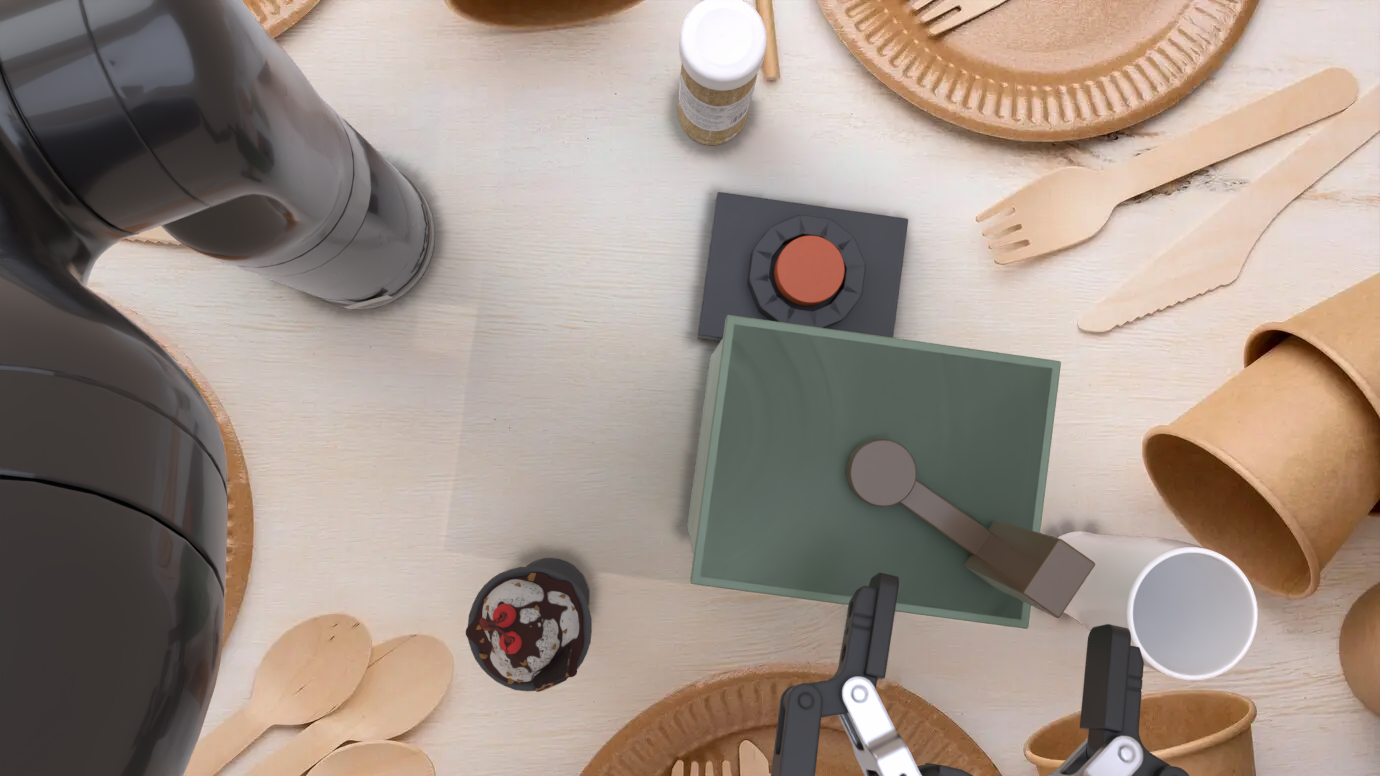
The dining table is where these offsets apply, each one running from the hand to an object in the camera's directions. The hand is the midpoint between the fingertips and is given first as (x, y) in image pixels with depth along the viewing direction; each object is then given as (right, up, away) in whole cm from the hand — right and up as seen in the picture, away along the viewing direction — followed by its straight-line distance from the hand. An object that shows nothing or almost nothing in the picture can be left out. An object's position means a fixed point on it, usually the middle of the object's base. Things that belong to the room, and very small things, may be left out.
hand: (996, 602), depth 39 cm
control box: (-4, +15, +28) cm, 32 cm away
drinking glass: (+13, -4, +28) cm, 31 cm away
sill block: (-4, +4, +28) cm, 28 cm away
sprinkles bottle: (-10, +26, +29) cm, 40 cm away
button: (-4, +15, +25) cm, 29 cm away
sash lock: (-1, +3, +6) cm, 6 cm away
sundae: (-20, -5, +27) cm, 35 cm away
